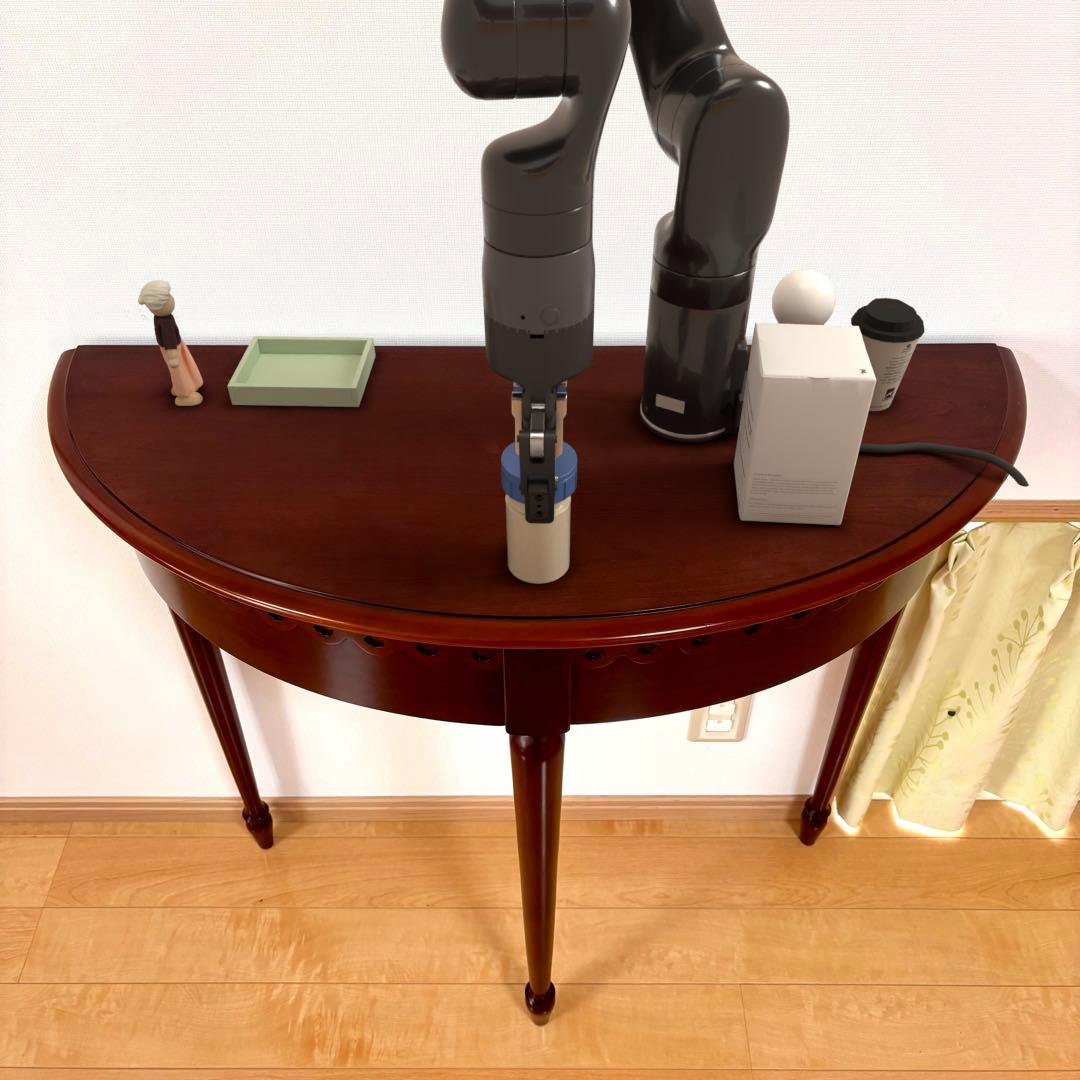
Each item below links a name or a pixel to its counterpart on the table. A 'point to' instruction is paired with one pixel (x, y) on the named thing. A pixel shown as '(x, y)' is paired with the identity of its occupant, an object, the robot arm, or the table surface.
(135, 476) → the table surface
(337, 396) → the tray
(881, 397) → the coffee cup
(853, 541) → the table surface
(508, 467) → the lid
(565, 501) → the jar
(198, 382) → the grandmother figurine
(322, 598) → the table surface
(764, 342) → the rectangular carton
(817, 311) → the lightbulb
